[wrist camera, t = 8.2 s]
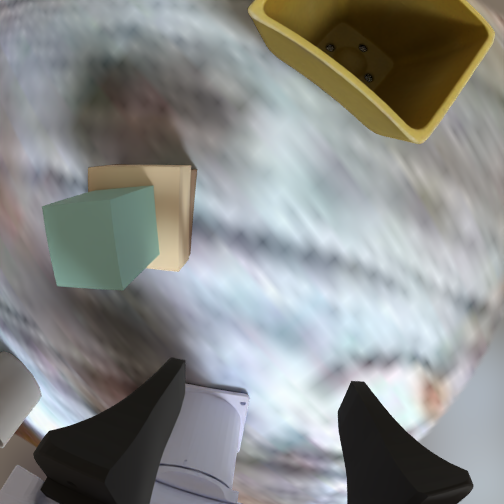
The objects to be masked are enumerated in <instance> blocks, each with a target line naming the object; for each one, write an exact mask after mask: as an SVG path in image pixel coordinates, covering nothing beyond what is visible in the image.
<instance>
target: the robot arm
mask: <svg viewBox="0 0 504 504" xmlns="http://www.w3.org/2000/svg"><path fill="white" fill-rule="evenodd" d="M249 399H250V397H249V395H247V394H244V393H237V392H230V391H224V390H218V389H212V388H207V387H201V386H196V385H191V384H186V383H185V360H180V359H176V358H170V359H169V360H168V361H167V362H166V363H165V364H164V365H163V366H162V367H161V368H160V369H159V370H158V371H157V372H156V373H155V374H154V375H153V376H152V377H151V378H150V379H148V380H147V381H146V382H145V383H144V384H143V385H142V386H140V387H139V388H138V389H137V390H135V391H134V392H133V393H131V394H130V395H129V396H127V397H126V398H125V399H123V400H122V401H120V402H119V403H117V404H116V405H114V406H112V407H111V408H109V409H107V410H105V411H103V412H101V413H100V414H98V415H96V416H93V417H91V418H89V419H86V420H84V421H81V422H79V423H76V424H73V425H70V426H67V427H63V428H59V429H55V430H51V431H49V432H48V433H47V434H46V435H45V436H44V438H43V439H42V441H41V442H40V444H39V445H38V447H37V448H36V450H35V452H34V459H35V460H36V462H37V464H38V465H39V466H40V468H41V469H42V470H43V472H44V473H45V474H46V476H47V479H46V480H45V482H44V481H43V480H41V479H40V478H39V477H37V476H36V475H34V474H32V473H31V472H29V471H27V470H26V469H24V468H22V467H21V466H19V465H16V467H15V468H14V470H13V471H12V473H11V474H10V476H9V478H8V479H7V481H6V482H5V484H4V486H3V487H2V489H1V491H0V504H242V503H238V502H237V501H238V493H239V492H238V491H234V490H232V484H233V477H234V470H235V462H236V455H237V452H239V451H240V446H241V441H242V436H243V430H244V425H245V420H246V415H247V410H248V405H249ZM243 402H245V403H243ZM338 427H339V435H340V441H341V446H342V451H343V457H344V462H345V468H346V475H347V504H457V503H459V502H460V501H461V500H462V499H463V498H465V497H466V496H467V495H468V494H469V493H470V492H471V490H472V489H473V483H472V480H471V478H470V475H469V473H468V471H467V470H464V469H462V468H460V467H458V466H455V465H453V464H451V463H449V462H447V461H446V460H444V459H442V458H440V457H438V456H437V455H435V454H434V453H432V452H431V451H430V450H428V449H427V448H425V447H424V446H422V445H421V444H420V443H419V442H418V441H416V440H415V439H414V438H413V437H412V436H411V435H410V434H408V433H407V432H406V431H405V430H404V429H403V428H402V427H401V426H400V425H399V423H398V422H397V421H396V420H395V419H394V418H393V417H392V416H391V415H390V414H389V412H388V411H387V410H386V409H385V408H384V406H383V405H382V404H381V403H380V401H379V400H378V399H377V397H376V396H375V395H374V394H373V392H372V391H371V390H370V389H369V387H368V386H367V385H366V383H365V382H360V381H351V383H350V385H349V388H348V390H347V392H346V395H345V397H344V399H343V401H342V403H341V406H340V408H339V410H338Z"/></svg>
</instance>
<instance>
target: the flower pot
mask: <svg viewBox="0 0 504 504" xmlns="http://www.w3.org/2000/svg"><path fill="white" fill-rule="evenodd" d="M248 13H249V15H250V17H251V18H252V20H253V22H254V24H255V26H256V28H257V29H258V31H259V33H260V35H261V37H262V39H263V40H264V42H265V44H266V46H267V47H268V49H269V50H270V51H271V52H272V53H273V54H274V55H275V56H276V57H277V58H279V59H280V60H282V61H283V62H285V63H286V64H288V65H289V66H291V67H292V68H294V69H295V70H296V71H298V72H299V73H301V74H302V75H304V76H305V77H306V78H308V79H309V80H310V81H312V82H313V83H314V84H316V85H317V86H318V87H320V88H321V89H322V90H324V91H325V92H326V93H327V94H329V95H330V96H331V97H332V98H334V99H335V100H336V101H337V102H339V103H340V104H341V105H342V106H343V107H344V108H346V109H347V110H348V111H349V112H350V113H351V114H352V115H354V116H355V117H356V118H357V119H358V120H359V121H360V122H361V123H362V124H363V125H365V126H366V127H367V128H368V129H370V130H371V131H373V132H374V133H376V134H379V135H382V136H386V137H390V138H395V139H399V140H404V141H408V142H412V143H416V144H421V143H423V142H424V141H426V140H427V139H428V137H429V136H430V135H431V134H432V132H433V131H434V130H435V128H436V127H437V126H438V124H439V123H440V121H441V120H442V119H443V117H444V115H445V114H446V113H447V111H448V109H449V108H450V106H451V105H452V104H453V102H454V101H455V99H456V98H457V96H458V95H459V93H460V92H461V90H462V89H463V87H464V86H465V84H466V83H467V81H468V80H469V78H470V77H471V75H472V74H473V72H474V71H475V69H476V68H477V66H478V65H479V63H480V62H481V61H482V59H483V58H484V56H485V55H486V53H487V52H488V50H489V48H490V47H491V45H492V44H493V41H494V37H495V32H494V30H493V29H492V27H491V26H490V25H489V23H488V22H487V21H486V20H485V19H484V18H483V17H482V16H481V15H480V14H479V13H478V12H477V11H476V10H475V9H474V8H473V7H472V6H471V5H470V4H469V3H468V2H467V1H466V0H254V1H253V2H252V3H251V5H250V6H249V7H248ZM327 45H333V46H334V47H335V50H334V51H332V52H331V51H328V50H327V48H326V46H327ZM360 45H364V46H365V47H366V51H365V52H362V51H361V50H360V49H359V46H360ZM367 74H369V75H371V76H372V81H371V82H368V81H366V79H365V75H367Z"/></svg>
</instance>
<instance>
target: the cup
mask: <svg viewBox="0 0 504 504" xmlns="http://www.w3.org/2000/svg"><path fill="white" fill-rule="evenodd" d="M41 396H42V395H41V391H40V387H39V385H38V383H37V382H36V380H35V378H34V376H33V375H32V374H31V372H30V371H29V370H28V369H27V368H26V366H25V365H24V364H23V363H22V362H21V361H20V360H18V359H17V358H16V357H15V356H14V355H12V354H10V353H8V352H5V351H2V352H0V447H2V448H4V446H5V445H6V443H7V442H8V441H9V439H10V438H11V437H12V435H13V434H14V433H15V431H16V430H17V429H18V427H19V426H20V425H21V423H22V422H23V421H24V419H25V418H26V417H27V416H28V414H29V413H30V412H31V410H32V409H33V408H34V407H35V405H36V404H37V403H38V402H39V400H40V398H41Z"/></svg>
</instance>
